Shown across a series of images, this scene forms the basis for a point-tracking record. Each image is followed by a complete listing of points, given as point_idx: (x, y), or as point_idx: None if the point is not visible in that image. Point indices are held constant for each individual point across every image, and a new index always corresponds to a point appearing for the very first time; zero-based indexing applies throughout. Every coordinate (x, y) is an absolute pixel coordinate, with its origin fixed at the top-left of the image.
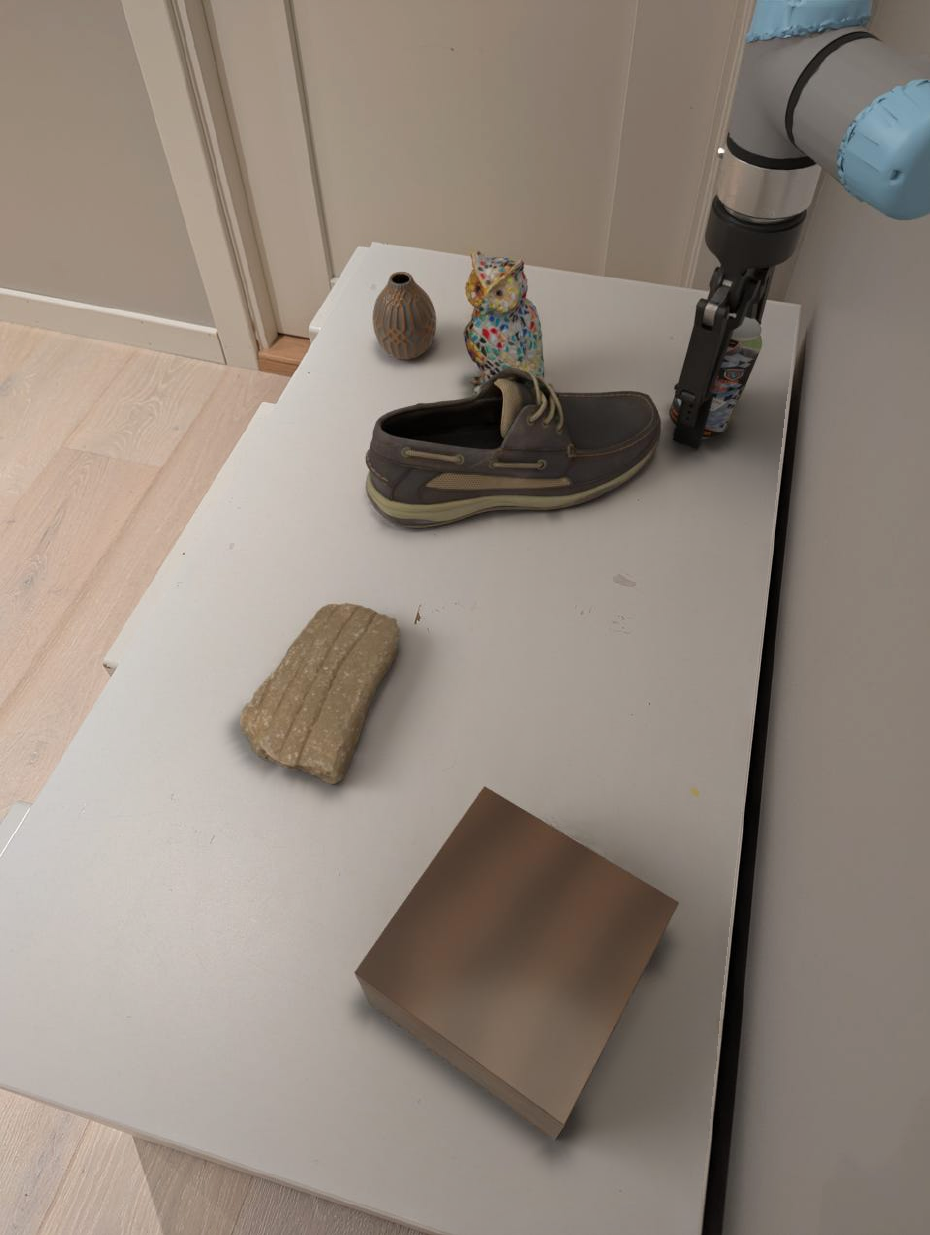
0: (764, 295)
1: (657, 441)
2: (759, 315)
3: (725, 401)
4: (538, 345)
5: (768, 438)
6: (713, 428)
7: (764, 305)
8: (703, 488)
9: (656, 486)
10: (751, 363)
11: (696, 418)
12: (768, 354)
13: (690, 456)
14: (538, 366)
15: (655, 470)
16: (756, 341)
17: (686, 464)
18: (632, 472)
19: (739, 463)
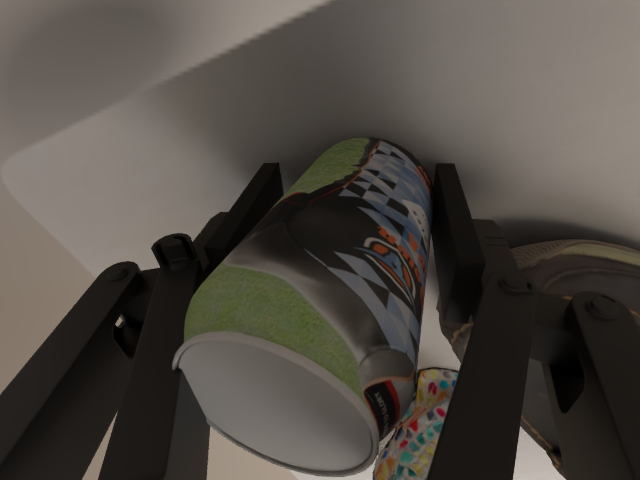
0: (51, 394)
1: (541, 257)
2: (109, 310)
3: (404, 204)
4: (421, 464)
5: (308, 31)
6: (415, 169)
7: (67, 325)
8: (571, 93)
9: (592, 186)
10: (330, 251)
11: (495, 236)
12: (93, 156)
13: (462, 164)
14: (438, 436)
15: (536, 206)
16: (281, 324)
17: (493, 161)
18: (624, 252)
19: (437, 54)
